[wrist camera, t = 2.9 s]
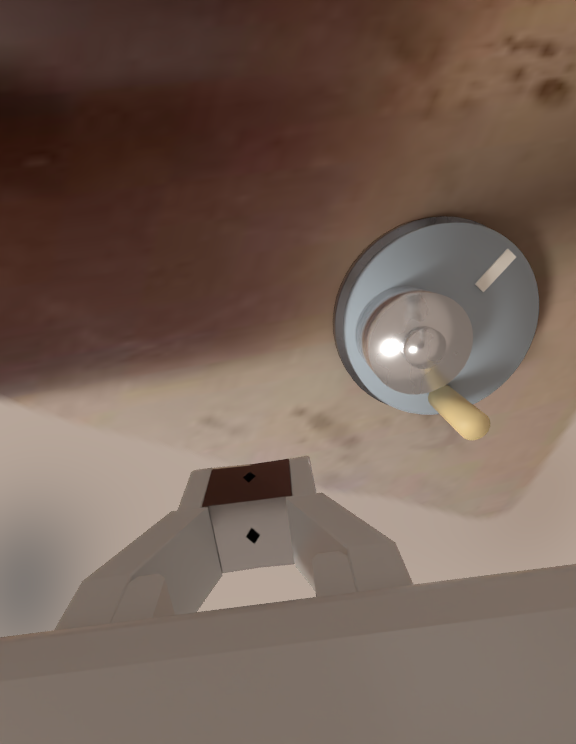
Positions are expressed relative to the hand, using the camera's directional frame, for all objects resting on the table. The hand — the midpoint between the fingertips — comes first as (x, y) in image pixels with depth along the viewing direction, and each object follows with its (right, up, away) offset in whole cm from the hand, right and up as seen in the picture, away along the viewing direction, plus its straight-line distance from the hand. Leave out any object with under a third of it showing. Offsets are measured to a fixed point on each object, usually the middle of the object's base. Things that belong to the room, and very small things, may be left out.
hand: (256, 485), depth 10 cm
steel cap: (+7, +5, +12) cm, 15 cm away
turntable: (+10, +6, +13) cm, 17 cm away
